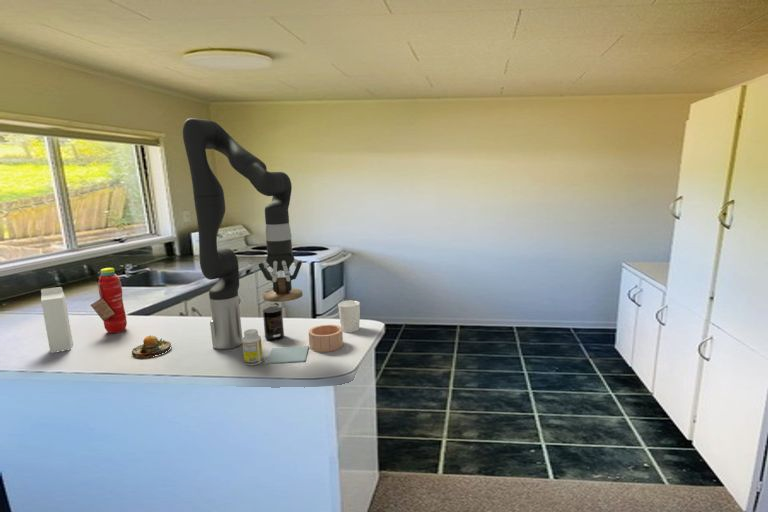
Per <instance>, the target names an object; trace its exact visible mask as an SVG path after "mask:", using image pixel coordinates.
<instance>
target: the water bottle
mask: <svg viewBox="0 0 768 512" xmlns="http://www.w3.org/2000/svg"><path fill="white" fill-rule="evenodd" d="M100 274H101V275H100V276H99V278H98V281H97V288H98V294H99V299H98V300H96V301H95V302H93V303H91V304H90V307H91V308H92V309H93V310H94V312H95V313H96V314H97V315H98V317H99V318H100V319H101V321H102V322H103V325H104V329H105V330H106V332H107V333H109V334H118V333H117V332H119V333H122V332H124V331H126V329H127V324H128V322H127V315H126V310H125V306H124V300H123V288H122V282H121V279H120V277H119V275H117V273H115V268H114V267H105V268H101V269H100ZM121 331H122V332H121Z"/></svg>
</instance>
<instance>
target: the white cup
mask: <svg viewBox="0 0 768 512" xmlns="http://www.w3.org/2000/svg"><path fill="white" fill-rule="evenodd" d="M337 306H338V315H339V324H340V327H342V333H354V332H357V331H359V330H360V322H361V321H360V320H361V317H360V315H361V313H360V311H361V307H360V306H361V303H360V301H358V300H343V301H340V302H338V305H337Z"/></svg>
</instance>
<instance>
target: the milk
mask: <svg viewBox="0 0 768 512" xmlns="http://www.w3.org/2000/svg"><path fill="white" fill-rule="evenodd" d="M40 294H41V297H40V302H41V308H42V313H43V314H42V315H43V319H44V325H45V326H44V327H45V331H46V336H47V342H48V347H49V353H50V354H53V353H52V352H56V353H58V352H57V351H61V352H63V351H62V350H67V351H69V350H68V349H71V348H72V349H73V346H74V340H73V335H72V330H71V324H70V318H69V312H68V307H67V300H66V295H65V292H64V289H63V287H61V286H58V287H49V288H48V287H47V288H42V289H41V290H40ZM72 349H71V350H72Z"/></svg>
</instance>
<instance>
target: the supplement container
mask: <svg viewBox="0 0 768 512" xmlns="http://www.w3.org/2000/svg"><path fill="white" fill-rule="evenodd" d="M262 316H263V317H262V320H263V328H264V337H265V340H267V341H270V342H271V341H272V342H273V341H279V340H282V339H283V338H284V336H285V330H284V317H283V308H282V307H279V306H272V307H271V306H270V307H268V308H267V307H266V308H264V309H262Z"/></svg>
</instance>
